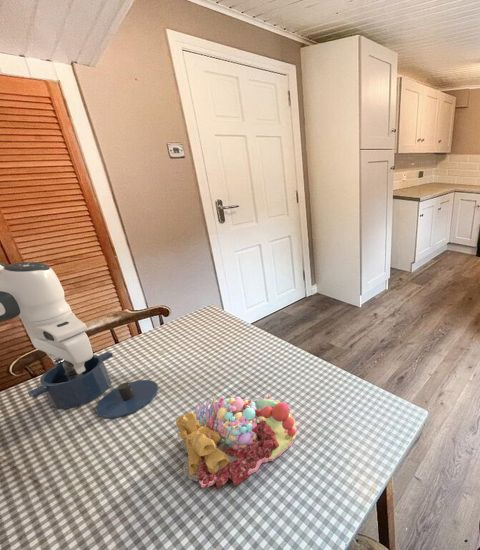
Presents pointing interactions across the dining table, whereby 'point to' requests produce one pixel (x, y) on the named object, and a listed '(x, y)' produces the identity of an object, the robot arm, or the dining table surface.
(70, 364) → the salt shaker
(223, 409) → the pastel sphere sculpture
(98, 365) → the pot
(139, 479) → the dining table surface
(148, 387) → the pot lid
